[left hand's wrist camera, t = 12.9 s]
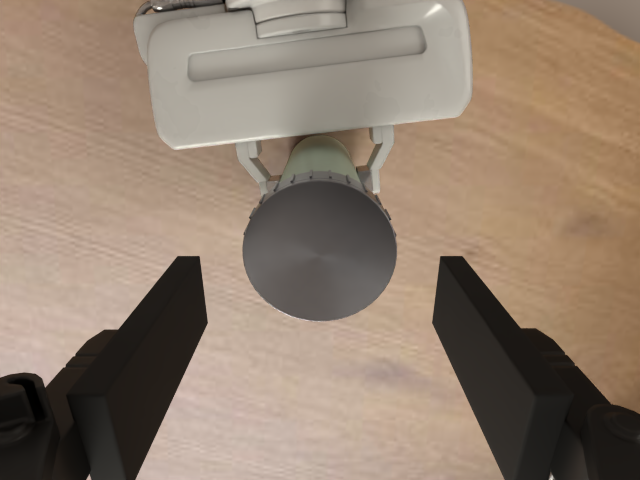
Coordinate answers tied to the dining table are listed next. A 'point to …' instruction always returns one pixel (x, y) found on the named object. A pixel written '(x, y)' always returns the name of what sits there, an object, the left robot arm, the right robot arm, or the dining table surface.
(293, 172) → the jar
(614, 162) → the dining table surface
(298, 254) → the lid
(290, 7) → the right robot arm
